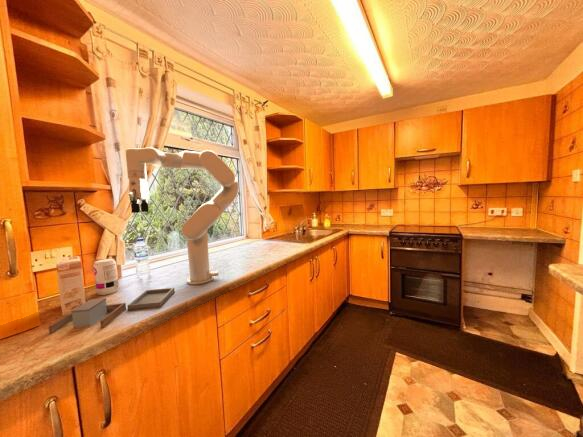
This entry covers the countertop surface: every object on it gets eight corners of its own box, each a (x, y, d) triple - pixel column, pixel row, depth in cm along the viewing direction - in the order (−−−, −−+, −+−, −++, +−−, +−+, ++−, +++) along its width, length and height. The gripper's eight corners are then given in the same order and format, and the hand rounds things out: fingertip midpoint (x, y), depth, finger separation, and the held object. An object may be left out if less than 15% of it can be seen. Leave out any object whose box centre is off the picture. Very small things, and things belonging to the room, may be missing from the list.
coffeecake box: (87, 309, 92) (81, 260, 91) (61, 316, 87) (55, 264, 86) (84, 299, 103) (78, 255, 101) (61, 305, 98) (55, 258, 96)
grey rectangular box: (107, 313, 88) (106, 298, 88) (90, 326, 79) (88, 309, 79) (92, 315, 87) (90, 299, 87) (73, 328, 78) (71, 311, 78)
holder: (126, 309, 91) (125, 302, 91) (103, 327, 78) (102, 320, 77) (80, 313, 89) (80, 307, 89) (49, 333, 75) (48, 326, 75)
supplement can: (94, 297, 105) (90, 263, 104) (99, 291, 112) (95, 260, 111) (117, 293, 109) (113, 260, 107) (120, 287, 116) (117, 257, 115)
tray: (174, 291, 107) (174, 287, 107) (160, 307, 91) (160, 302, 91) (146, 294, 105) (146, 290, 105) (127, 310, 90) (127, 305, 90)
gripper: (137, 173, 104) (141, 212, 105) (153, 177, 121) (156, 211, 122) (118, 173, 103) (122, 213, 104) (137, 177, 120) (140, 211, 121)
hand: (140, 212), depth 113 cm, fingers open, 9 cm apart
